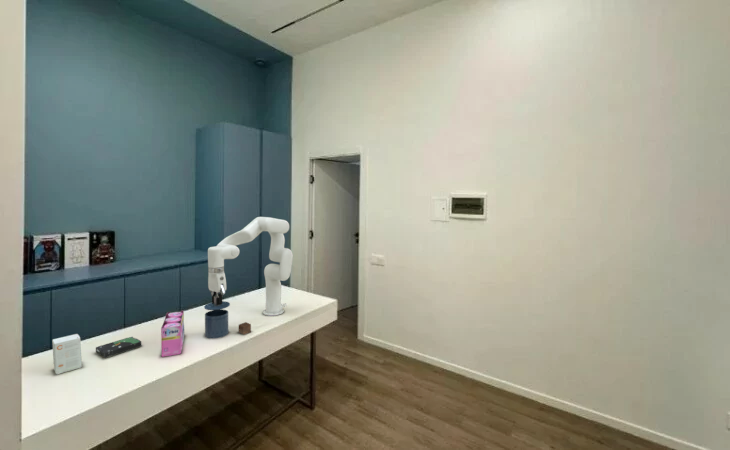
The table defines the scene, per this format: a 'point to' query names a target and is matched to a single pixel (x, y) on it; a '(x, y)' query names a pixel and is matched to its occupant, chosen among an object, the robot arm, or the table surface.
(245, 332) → the block
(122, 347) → the disk drive
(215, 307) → the lid
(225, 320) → the canister
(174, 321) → the gum box
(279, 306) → the robot arm
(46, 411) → the table surface
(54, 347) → the small box
